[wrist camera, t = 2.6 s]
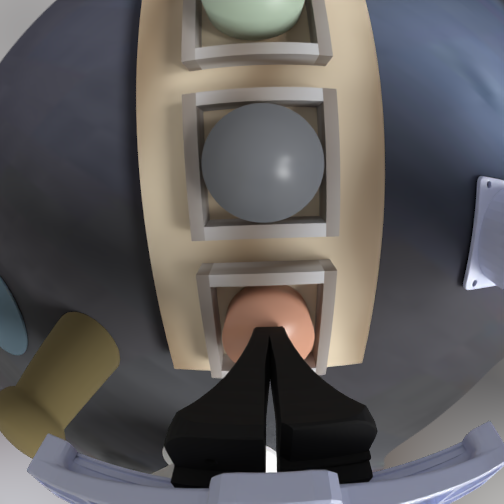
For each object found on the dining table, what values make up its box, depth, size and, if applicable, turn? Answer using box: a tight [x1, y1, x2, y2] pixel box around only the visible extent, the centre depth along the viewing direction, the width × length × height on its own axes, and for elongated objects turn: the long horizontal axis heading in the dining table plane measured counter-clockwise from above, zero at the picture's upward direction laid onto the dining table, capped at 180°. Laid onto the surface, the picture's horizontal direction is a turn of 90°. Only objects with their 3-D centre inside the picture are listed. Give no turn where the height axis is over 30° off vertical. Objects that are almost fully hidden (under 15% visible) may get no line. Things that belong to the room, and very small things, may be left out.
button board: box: [136, 0, 385, 378], centre depth 12 cm, size 12×24×3 cm, turn 3°
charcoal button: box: [202, 103, 324, 223], centre depth 10 cm, size 4×4×2 cm
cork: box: [0, 312, 120, 459], centre depth 13 cm, size 6×6×11 cm
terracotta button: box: [222, 285, 315, 363], centre depth 14 cm, size 4×4×2 cm
